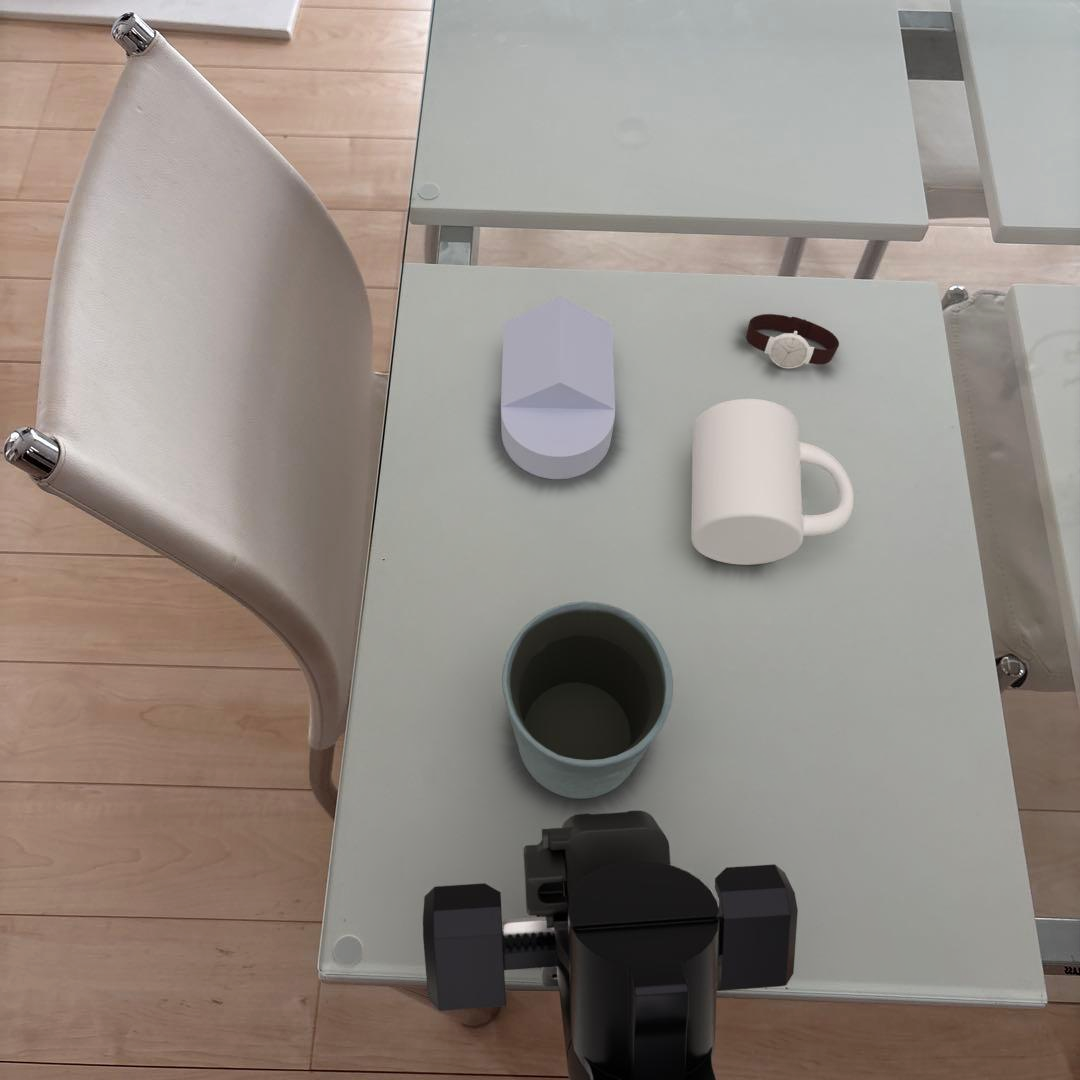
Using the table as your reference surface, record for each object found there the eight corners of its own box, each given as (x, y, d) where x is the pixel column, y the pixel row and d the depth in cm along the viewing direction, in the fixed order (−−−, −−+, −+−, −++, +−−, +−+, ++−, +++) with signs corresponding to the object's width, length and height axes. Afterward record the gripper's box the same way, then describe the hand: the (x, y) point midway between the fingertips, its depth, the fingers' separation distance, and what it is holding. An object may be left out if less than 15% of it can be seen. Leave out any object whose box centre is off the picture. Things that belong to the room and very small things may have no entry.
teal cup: (606, 837, 63) (625, 798, 53) (476, 762, 66) (468, 710, 55) (672, 709, 68) (702, 648, 57) (547, 642, 70) (553, 572, 59)
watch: (738, 358, 82) (747, 331, 79) (749, 318, 84) (758, 289, 81) (827, 381, 81) (840, 354, 78) (836, 340, 83) (849, 312, 80)
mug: (683, 560, 73) (701, 510, 66) (685, 451, 78) (702, 392, 70) (840, 574, 73) (875, 525, 66) (833, 464, 77) (865, 406, 70)
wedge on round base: (504, 348, 82) (499, 478, 76) (503, 294, 76) (498, 430, 70) (608, 350, 82) (612, 480, 76) (616, 296, 76) (621, 433, 70)
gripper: (852, 887, 40) (750, 709, 55) (405, 917, 39) (424, 728, 54) (834, 1092, 44) (743, 872, 58) (423, 1124, 43) (436, 892, 57)
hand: (590, 839), depth 57 cm, fingers closed
